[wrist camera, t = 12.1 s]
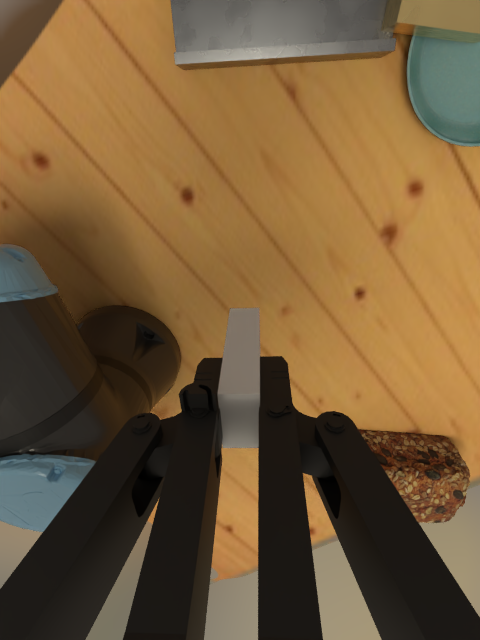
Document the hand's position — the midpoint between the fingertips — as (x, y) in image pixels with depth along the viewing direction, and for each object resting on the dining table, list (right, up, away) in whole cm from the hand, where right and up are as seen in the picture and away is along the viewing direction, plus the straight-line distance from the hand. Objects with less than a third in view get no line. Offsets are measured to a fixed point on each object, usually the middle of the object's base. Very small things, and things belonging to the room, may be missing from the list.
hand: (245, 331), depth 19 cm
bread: (+22, -20, +39) cm, 49 cm away
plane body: (+3, +28, +12) cm, 30 cm away
